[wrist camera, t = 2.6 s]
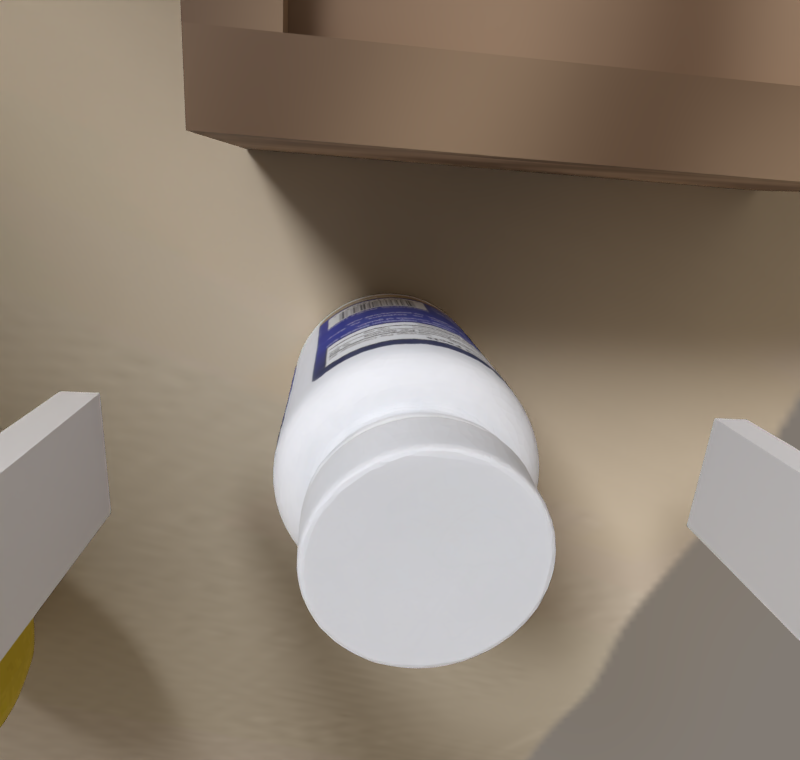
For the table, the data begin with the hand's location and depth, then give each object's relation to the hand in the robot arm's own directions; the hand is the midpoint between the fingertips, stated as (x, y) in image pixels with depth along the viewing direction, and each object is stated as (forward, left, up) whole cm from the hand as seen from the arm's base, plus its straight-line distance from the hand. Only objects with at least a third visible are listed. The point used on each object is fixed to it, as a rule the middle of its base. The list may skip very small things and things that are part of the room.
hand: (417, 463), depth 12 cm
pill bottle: (0, 0, -5) cm, 5 cm away
